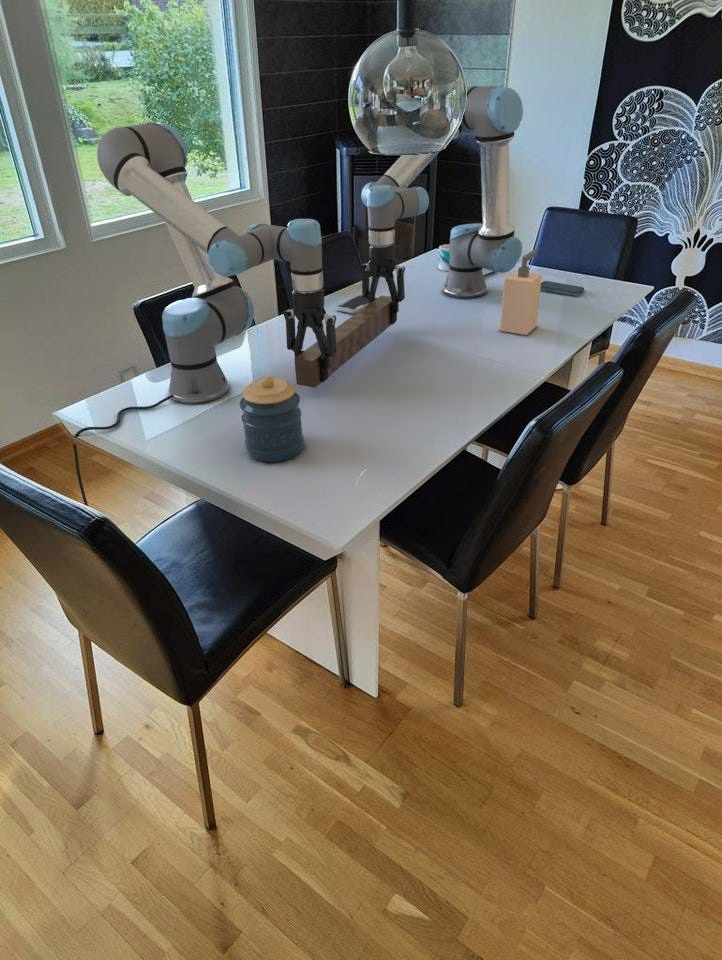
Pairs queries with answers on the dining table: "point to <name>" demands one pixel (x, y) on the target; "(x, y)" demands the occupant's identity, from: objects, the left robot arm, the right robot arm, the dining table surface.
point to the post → (345, 341)
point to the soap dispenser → (521, 299)
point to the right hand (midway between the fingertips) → (383, 321)
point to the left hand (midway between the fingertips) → (313, 377)
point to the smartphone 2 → (561, 288)
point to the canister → (271, 420)
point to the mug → (444, 257)
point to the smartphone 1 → (353, 305)
